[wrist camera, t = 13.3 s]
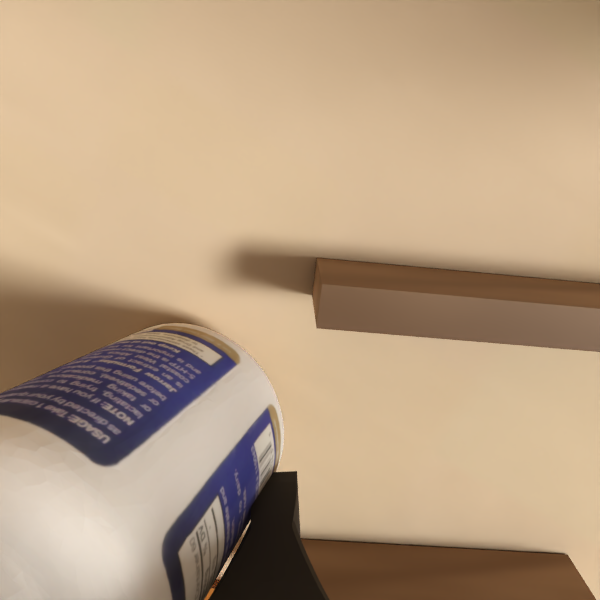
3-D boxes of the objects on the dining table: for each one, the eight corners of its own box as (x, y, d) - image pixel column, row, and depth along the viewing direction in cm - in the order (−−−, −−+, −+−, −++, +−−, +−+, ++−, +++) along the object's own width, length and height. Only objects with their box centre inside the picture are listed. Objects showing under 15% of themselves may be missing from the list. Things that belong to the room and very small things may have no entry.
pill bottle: (72, 388, 14) (-494, 678, 5) (200, 278, 12) (-336, 454, 4) (186, 540, 14) (-207, 1071, 5) (331, 451, 12) (88, 1025, 4)
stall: (316, 257, 12) (322, 284, 10) (669, 290, 13) (736, 320, 11) (281, 562, 16) (279, 623, 14) (558, 577, 16) (594, 638, 14)
